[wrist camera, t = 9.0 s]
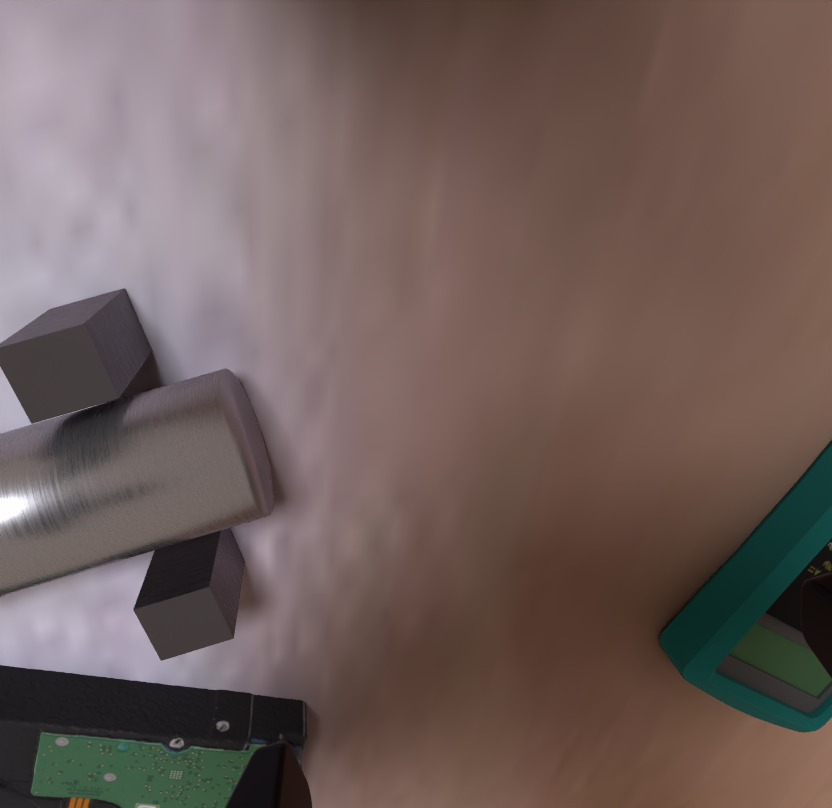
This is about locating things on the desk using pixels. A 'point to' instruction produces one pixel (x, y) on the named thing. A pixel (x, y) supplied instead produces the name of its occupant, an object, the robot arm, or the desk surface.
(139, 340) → the collar stand
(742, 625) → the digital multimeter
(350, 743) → the desk surface
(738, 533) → the desk surface
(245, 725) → the disk drive
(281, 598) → the desk surface
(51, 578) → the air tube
